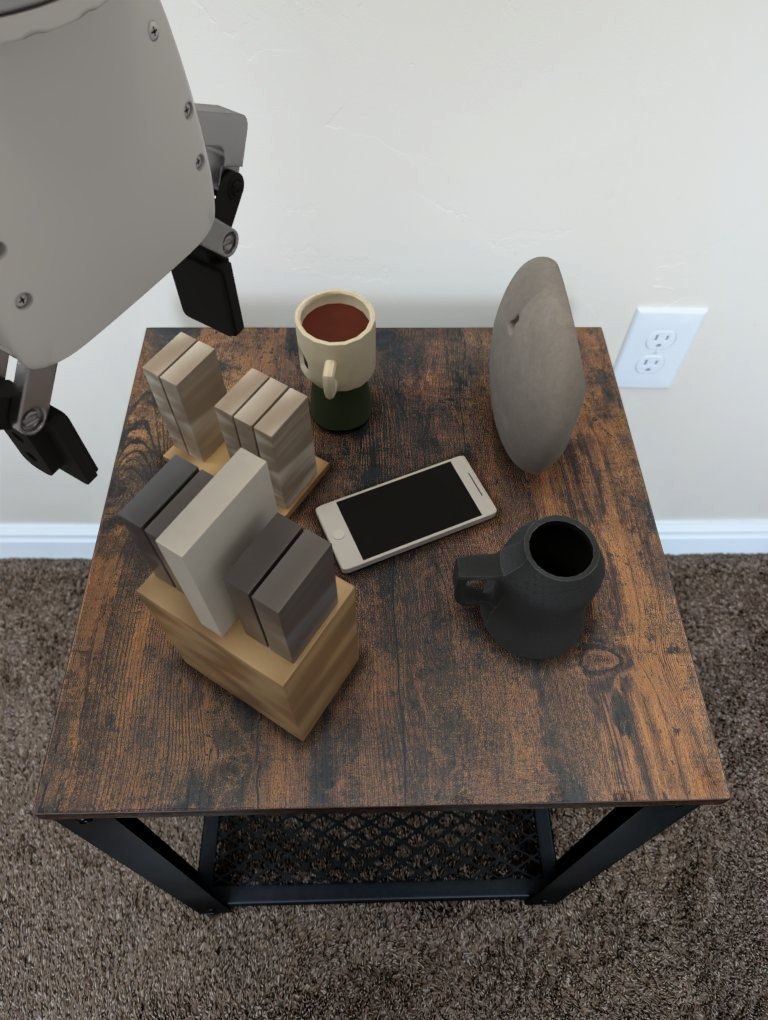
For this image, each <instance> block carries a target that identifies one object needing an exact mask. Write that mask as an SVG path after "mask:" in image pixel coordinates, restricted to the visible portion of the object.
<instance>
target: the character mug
mask: <svg viewBox="0 0 768 1020" xmlns="http://www.w3.org/2000/svg"><path fill="white" fill-rule="evenodd" d="M375 313H376V312H375V308H374V306H373V305H372V304H371V303H370V301H369V300H368V298H366V297H365V296H363V295H361V294H359V293H358V292H356V291H352V290H347V289H344V288H333V289H332V288H331V289H324V290H321V291H317V292H315V293H312V294H310V295H308V297H306V298H305V299H303V300H302V301H301V302H300V303H299V305H298V306H297V307H296V310H295V312H294V327H295V334H296V341H297V348H298V357H299V366H300V370H301V372H302V373H303V375H304V376H305V378H306V379H307V380H308V381H310V382H311V387H310V399H309V400H310V401H309V411H310V415H311V417H312V419H313V421H314V422H315V423H316V424H317V425H318V426H320V427H321V428H322V429H324V430H331V431H337V432H339V431H349V430H353V429H355V428H359V427H360V426H362V425H364V424H365V423H366V421H368V419H369V418H370V417H371V416H372V409H373V401H372V395H371V390H370V389H371V388H370V385H369V384H370V383H369V380H370V379H371V378H372V376H373V374H374V372H375V369H376V367H377V366H376V365H377V322H376V314H375Z"/></svg>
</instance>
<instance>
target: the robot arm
mask: <svg viewBox="0 0 768 1020" xmlns="http://www.w3.org/2000/svg"><path fill="white" fill-rule="evenodd" d="M248 124H249V122H248V118H247V117H246V115H245V114H243V113H240V112H237V111H235V110H232V109H229V108H227V107H225V106H222V105H219V104H211V103H199V102H198V103H197V102H195V101H194V98H193V94H192V89H191V87H190V83H189V81H188V77H187V73H186V70H185V67H184V64H183V61H182V58H181V54H180V51H179V48H178V45H177V43H176V39H175V37H174V33H173V31H172V28H171V25H170V22H169V19H168V17H167V14H166V12H165V9H164V6H163V3H162V1H161V0H0V431H4V432H5V434H6V435H7V437H8V438H9V439H10V440H11V442H12V443H13V445H14V446H15V448H16V449H17V450H18V452H19V453H20V455H21V456H22V457H23V458H24V459H25V460H26V461H27V463H29V464H30V465H32V466H33V467H34V468H36V469H37V470H39V471H41V472H42V473H44V474H46V475H48V476H50V477H51V476H53V475H55V474H56V472H58V471H59V470H61V471H62V472H64V473H66V474H67V475H69V476H71V477H73V478H74V479H76V480H77V481H79V482H81V483H83V484H85V485H90V484H91V483H92V482H93V481H94V480H95V479H96V478H97V477H98V471H99V467H98V465H97V464H96V462H95V461H94V459H93V457H92V456H91V453H90V452H89V450H88V448H87V446H86V445H85V443H84V442H83V440H82V438H81V436H80V434H79V432H78V431H77V430H76V428H75V426H74V424H73V423H72V421H71V419H70V418H69V416H68V415H67V414H66V413H65V412H63V411H62V410H61V409H59V408H57V407H56V406H53V405H52V404H51V401H52V396H53V391H54V386H55V380H56V375H57V369H58V365H59V363H60V362H62V361H65V359H67V358H70V357H71V356H72V355H74V354H75V353H77V352H78V351H80V350H81V349H82V348H83V347H85V346H86V345H87V344H88V343H90V342H91V341H92V340H93V339H95V338H96V337H97V336H98V335H100V333H102V332H103V331H104V330H105V329H106V328H108V326H110V325H111V324H112V323H113V322H115V321H116V320H117V319H118V318H120V317H121V316H122V314H124V313H125V312H126V311H128V310H129V308H131V307H132V306H133V305H134V304H136V303H137V302H138V301H139V300H140V299H141V298H143V296H145V294H147V293H148V292H149V291H150V290H152V289H153V288H154V287H155V286H156V285H157V284H158V283H159V282H160V281H162V280H163V279H164V278H165V277H167V275H168V274H170V272H171V276H172V279H173V282H174V286H175V289H176V292H177V295H178V299H179V302H180V306H181V309H182V312H183V313H184V315H185V316H186V317H188V318H190V319H192V320H194V321H196V322H198V323H200V324H203V325H204V326H206V327H209V328H211V329H213V330H215V331H217V332H219V333H222V334H223V335H226V336H227V337H230V338H231V337H237V336H238V335H240V333H241V332H243V331H244V329H245V325H244V319H243V315H242V310H241V304H240V300H239V295H238V289H237V285H236V279H235V276H234V270H233V266H232V265H233V264H232V262H231V261H230V259H229V258H230V257H231V256H234V254H235V252H236V251H237V249H238V246H239V239H240V238H239V237H240V236H239V233H238V231H237V230H236V229H235V228H233V225H234V222H235V218H236V215H237V212H238V209H239V206H240V203H241V199H242V197H243V195H244V194H243V193H244V190H245V179H244V176H243V175H242V173H240V168H243V167H244V160H245V153H246V152H245V150H246V144H247V143H246V142H247V136H248V128H249V125H248ZM10 357H12V358H13V359H16V365H15V372H14V378H13V381H12V380H10V379H6V376H7V371H8V364H9V358H10Z"/></svg>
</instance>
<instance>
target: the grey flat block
mask: <svg viewBox="0 0 768 1020" xmlns="http://www.w3.org/2000/svg"><path fill="white" fill-rule="evenodd" d="M277 512H278V509H277V505H276V500H275V496H274V492H273V487H272V483H271V479H270V474H269V470H268V465H267V462H266V461H265V460H263V459H261V458H259V457H257V456H256V455H254V454H252V453H250V452H248V451H247V450H245V449H243V448H240V449H239V450H238V451H237V452H236V453H235V454H234V456H233V457H232V458H231V459H230V460H229V461H228V462H227V463H226V464H225V465H224V466H223V467H222V469H221V470H220V471H219V472H218V473H217V474H216V475H215V476H214V477H213V478H212V479H211V480H210V482H209V483H208V484H207V485H206V486H205V487H204V488H203V489H202V490H201V491H200V492H199V494H198V495H197V496H196V497H195V498H194V499H193V500H192V501H191V502H190V503H189V504H188V505H187V507H186V508H185V509H184V510H183V511H182V512H181V513H180V514H179V515H178V516H177V517H176V519H175V520H174V521H173V522H172V523H171V524H170V525H169V526H168V527H167V528H166V529H165V530H164V532H163V533H162V534H161V535H160V536H159V537H158V538H157V539H156V540H155V541H156V543H157V545H158V547H159V549H160V550H161V552H162V554H163V556H164V558H165V559H166V561H167V563H168V565H169V567H170V568H171V570H172V572H173V574H174V576H175V577H176V579H177V581H178V583H179V585H180V586H181V588H182V590H183V592H184V594H185V595H186V597H187V599H188V601H189V603H190V604H191V606H192V608H193V610H194V612H195V613H196V615H197V617H198V619H199V621H200V622H201V624H202V625H204V626H205V627H207V628H208V629H210V630H212V631H213V632H215V633H216V634H218V635H219V636H221V637H224V635H225V634H226V633H227V632H228V630H229V629H230V628H231V627H232V625H233V624H234V623H235V622H236V620H237V619H238V618H239V617H238V615H237V612H236V610H235V608H234V605H233V603H232V601H231V598H230V596H229V594H228V591H227V589H226V587H225V584H224V582H223V580H222V578H223V577H224V575H225V574H226V573H227V572H228V571H229V569H230V568H231V567H232V566H233V565H234V563H235V562H236V561H237V560H238V559H239V557H240V556H241V555H242V554H243V553H244V551H245V550H246V549H247V548H248V547H249V546H250V544H251V543H252V542H253V541H254V540H255V538H256V537H257V536H258V535H259V534H260V532H261V531H262V530H263V529H264V528H265V526H266V525H267V524H268V523H269V522H270V520H271V519H272V518H273V517H274V516H275V514H276V513H277Z"/></svg>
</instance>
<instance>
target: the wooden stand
mask: <svg viewBox="0 0 768 1020" xmlns="http://www.w3.org/2000/svg"><path fill="white" fill-rule="evenodd" d="M213 477H214V476H213V475H211V474H210V473H208V472H206V471H204V470H203V469H201V470H200V471H199V468H198V467H197V466H196V465H194V464H192V463H190V462H189V461H187V460H185V459H183V458H182V457H180V456H178V455H176V454H175V455H174V456H173V457H172V458H171V459H170V460H169V461H168V462H165V464H164V465H163V466H162V467H161V468H160V469H159V470H158V471H157V472H156V473H155V474H154V476H153V477H152V478H150V480H148V482H147V483H145V485H144V486H143V487H142V488H141V489H140V490H139V491H138V492H137V493H136V494H135V495H134V496H133V497H132V498H131V499H130V500H129V501H128V502H127V503H126V504H125V505H124V506H123V507H122V508H121V509H120V510H119V512H118V513H117V515H118V517H119V518H120V519H121V521H122V523H123V524H124V526H125V528H126V530H127V531H128V533H129V535H130V536H131V538H132V540H133V541H134V543H135V544H136V546H137V548H138V550H139V551H140V554H141V555H142V556H143V557H144V560H145V561H146V563H147V564H148V566H149V568H150V569H151V571H152V572H151V573H150V575H149V576H148V577H147V578H146V579H145V580H144V581H143V583H142V584H141V585H140V586H139V587H138V588H137V589H136V593H137V594H138V595H139V597H140V598H141V599H142V601H143V603H144V604H145V605H146V607H147V609H148V610H149V612H150V613H151V614H152V616H153V617H154V619H155V620H156V622H157V623H158V624H159V626H160V627H161V629H162V630H163V632H164V633H165V635H166V636H167V637H168V639H169V640H170V642H171V644H172V645H173V646H174V648H175V649H176V651H177V652H178V654H179V655H180V656H181V658H182V659H183V660H184V662H185V663H186V664H187V665H189V666H190V667H192V668H193V669H195V670H196V671H197V672H199V673H200V674H202V675H203V676H205V677H206V678H208V679H210V680H211V682H214V683H215V684H217V685H218V686H220V687H221V688H223V689H224V690H225V691H227V692H229V693H230V694H232V695H233V696H235V697H236V698H238V699H239V700H241V701H242V702H243V703H245V704H247V705H248V706H250V707H251V708H252V709H254V710H255V711H256V712H258V713H260V714H261V715H262V716H264V717H266V718H267V719H269V720H270V721H272V722H273V723H274V724H276V725H278V726H279V727H281V728H282V729H284V730H285V731H286V732H288V733H289V734H291V735H292V736H294V737H295V738H297V739H298V740H299V741H301V742H304V741H305V740H306V739H307V737H308V735H309V734H310V732H311V731H312V730H313V728H314V726H315V725H316V724H317V722H318V720H319V719H320V717H321V716H322V714H324V712H325V710H326V709H327V707H328V706H329V705H330V703H331V702H332V700H333V698H334V697H335V696H336V695H337V692H338V691H339V690H340V688H341V687H342V685H343V684H344V682H345V681H346V679H347V678H348V676H349V674H350V673H351V672H352V670H353V669H354V668H355V666H356V665H357V663H358V661H359V660H360V653H359V652H360V651H359V635H358V634H359V633H358V618H357V603H356V602H357V600H356V586H355V585H352V584H351V583H349V582H347V581H345V580H344V579H343V578H341V577H338V576H337V575H336V567H335V560H334V553H333V550H332V543H330V542H329V541H328V539H325V538H324V537H321V536H320V535H319V534H316V533H315V532H313V531H312V530H309V529H308V528H305V529H304V527H303V526H302V525H301V524H299V523H297V522H296V521H294V520H292V519H291V518H289V519H288V518H287V517H285V516H283V515H282V514H280V513H278V512H277V513H276V514H275V516H274V517H273V518H272V519H271V520H270V522H269V523H268V524H267V525H266V526H265V528H264V529H263V530H262V531H261V532H260V534H259V535H258V536H257V537H256V538H255V540H254V541H253V542H252V543H251V544H250V546H249V547H248V548H247V549H246V550H245V551H244V553H243V554H242V555H241V556H240V557H239V559H238V560H237V561H236V562H235V563H234V565H233V566H232V567H231V568H230V569H229V571H228V572H227V573H226V574H225V575H224V577H223V578H222V580H223V582H224V584H225V587H226V589H227V591H228V594H229V596H230V598H231V601H232V603H233V605H234V608H235V610H236V612H237V615H238V617H239V618H238V619H237V620H236V622H235V623H234V624H233V625H232V627H231V628H230V629H229V630H228V632H227V633H226V634H225V635H224V637H221V636H219V635H218V634H216V633H215V632H213V631H212V630H210V629H208V628H207V627H205V626H204V625H202V624H201V622H200V621H199V619H198V617H197V615H196V613H195V612H194V610H193V608H192V606H191V604H190V603H189V601H188V599H187V597H186V595H185V594H184V592H183V590H182V588H181V586H180V585H179V583H178V581H177V579H176V577H175V576H174V574H173V572H172V570H171V568H170V567H169V565H168V563H167V561H166V559H165V558H164V556H163V554H162V552H161V550H160V549H159V547H158V545H157V543H156V541H155V540H156V539H157V538H158V537H159V536H160V535H161V534H162V533H163V532H164V530H165V529H166V528H167V527H168V526H169V525H170V524H171V523H172V522H173V521H174V520H175V519H176V517H177V516H178V515H179V514H180V513H181V512H182V511H183V510H184V509H185V508H186V507H187V505H188V504H189V503H190V502H191V501H192V500H193V499H194V498H195V497H196V496H197V495H198V494H199V492H200V491H201V490H202V489H203V488H204V487H205V486H206V485H207V484H208V483H209V482H210V480H211V479H212V478H213Z"/></svg>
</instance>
